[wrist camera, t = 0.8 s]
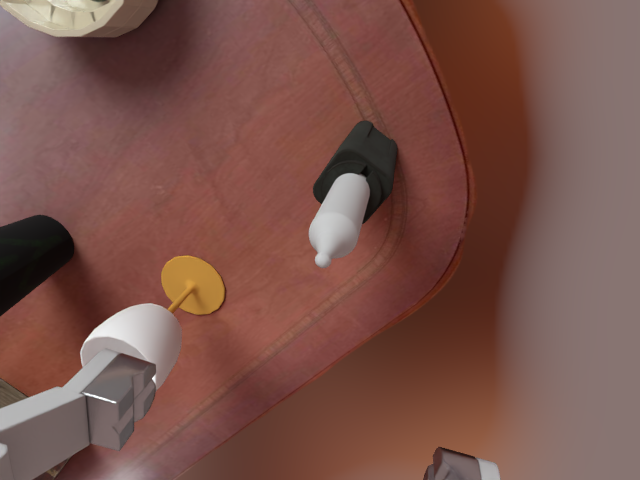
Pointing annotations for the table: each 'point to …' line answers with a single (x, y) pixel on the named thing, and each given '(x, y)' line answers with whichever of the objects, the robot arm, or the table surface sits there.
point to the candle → (351, 191)
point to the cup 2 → (160, 317)
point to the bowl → (81, 16)
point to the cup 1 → (30, 256)
